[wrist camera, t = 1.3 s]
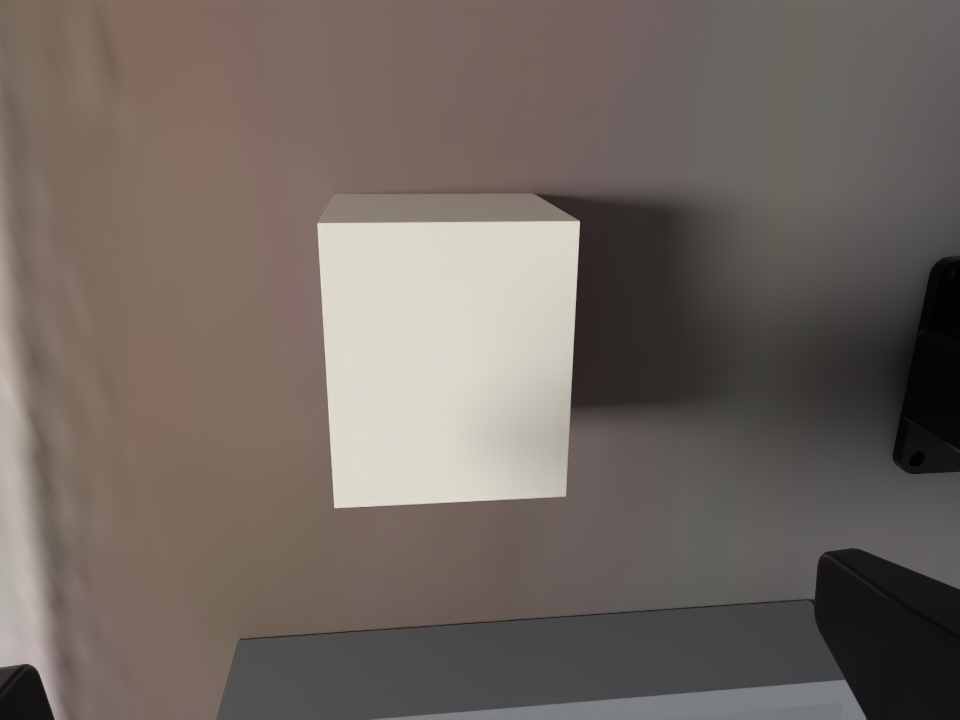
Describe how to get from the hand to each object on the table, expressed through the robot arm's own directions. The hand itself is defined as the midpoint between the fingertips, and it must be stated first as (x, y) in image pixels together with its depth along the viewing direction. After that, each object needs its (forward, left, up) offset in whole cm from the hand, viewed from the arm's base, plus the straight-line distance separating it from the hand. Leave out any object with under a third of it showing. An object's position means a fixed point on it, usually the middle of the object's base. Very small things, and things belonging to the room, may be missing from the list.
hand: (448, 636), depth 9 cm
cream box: (-1, -1, -12) cm, 12 cm away
